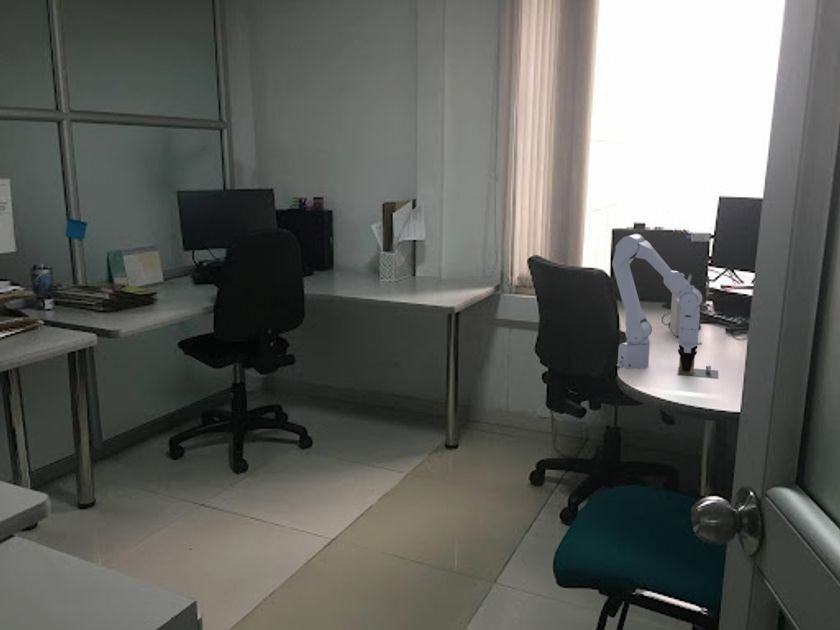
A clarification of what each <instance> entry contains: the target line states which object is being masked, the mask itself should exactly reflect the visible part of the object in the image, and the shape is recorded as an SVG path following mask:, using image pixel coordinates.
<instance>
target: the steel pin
mask: <svg viewBox="0 0 840 630" xmlns="http://www.w3.org/2000/svg"><path fill="white" fill-rule="evenodd" d="M705 370H706V374H710V373H711V370H712V365H706V366H705Z"/></svg>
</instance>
